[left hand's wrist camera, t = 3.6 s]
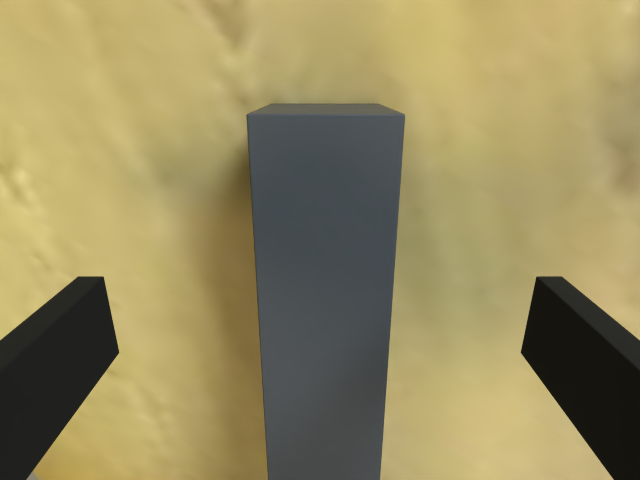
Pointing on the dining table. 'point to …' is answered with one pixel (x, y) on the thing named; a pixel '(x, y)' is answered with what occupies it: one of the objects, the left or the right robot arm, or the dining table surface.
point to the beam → (324, 281)
